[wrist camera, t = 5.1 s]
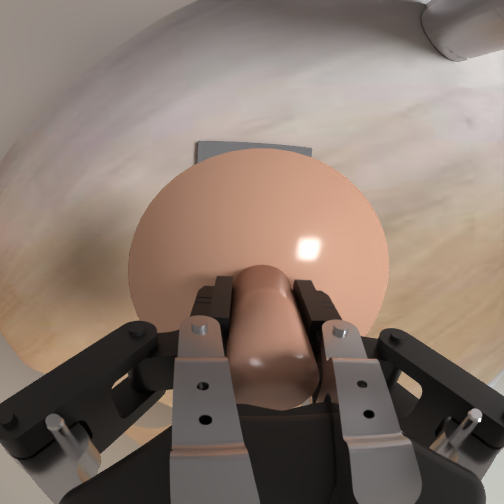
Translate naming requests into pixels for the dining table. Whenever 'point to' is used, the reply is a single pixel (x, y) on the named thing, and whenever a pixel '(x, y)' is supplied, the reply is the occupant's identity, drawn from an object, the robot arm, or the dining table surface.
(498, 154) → the dining table surface
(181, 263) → the lid
